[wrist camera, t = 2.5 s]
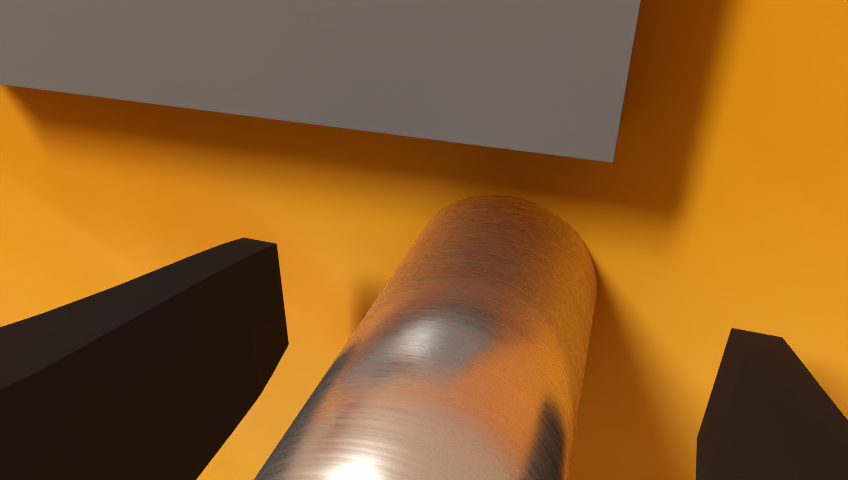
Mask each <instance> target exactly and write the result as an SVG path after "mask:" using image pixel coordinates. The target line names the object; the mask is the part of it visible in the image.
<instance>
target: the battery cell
mask: <svg viewBox="0 0 848 480" xmlns="http://www.w3.org/2000/svg"><path fill="white" fill-rule="evenodd" d="M596 296H597V275H596V271H595V266H594V263H593V261H592V258H591V255H590V253H589V251H588V250H587V248H586V246H585V244H584V243H583V241H582V240H581V239H580V237H579V236H578V235H577V233H576V232H575V231H574V230H573V229H572V228H571V227H570V226H569V225H568V224H567V223H565V222H564V221H563V220H562V219H560V218H559V217H558V216H557V215H555V214H553V213H552V212H550V211H548V210H547V209H545V208H543V207H541V206H539V205H536V204H534V203H532V202H529V201H526V200H523V199H518V198H514V197H509V196H498V195H490V196H478V197H472V198H468V199H465V200H461V201H459V202H456V203H454V204H452V205H450V206H448V207H447V208H445V209H443V210H442V211H440V212H439V213H438V214H437V215H436V216H434V217H433V218H432V219H431V220H430V222H429V223H428V224H427V225H426V226H425V228H424V229H423V231H422V232H421V234H420V235H419V237H418V238H417V240H416V241H415V243H414V244H413V246H412V247H411V248H410V250H409V251H408V253H407V254H406V256H405V257H404V259H403V260H402V262H401V263H400V265H399V266H398V268H397V269H396V271H395V272H394V274H393V275H392V277H391V278H390V280H389V281H388V282H387V284H386V285H385V287H384V288H383V290H382V291H381V293H380V294H379V296H378V297H377V299H376V300H375V302H374V303H373V305H372V306H371V308H370V309H369V311H368V312H367V313H366V315H365V316H364V318H363V319H362V321H361V322H360V324H359V325H358V327H357V328H356V330H355V331H354V333H353V334H352V336H351V337H350V339H349V340H348V342H347V343H346V344H345V346H344V347H343V349H342V350H341V352H340V353H339V355H338V356H337V358H336V359H335V361H334V362H333V364H332V365H331V367H330V368H329V370H328V371H327V373H326V374H325V375H324V377H323V378H322V380H321V381H320V383H319V384H318V386H317V387H316V389H315V390H314V392H313V393H312V395H311V396H310V398H309V399H308V401H307V402H306V404H305V405H304V406H303V408H302V409H301V411H300V412H299V414H298V415H297V417H296V418H295V420H294V421H293V423H292V424H291V426H290V427H289V429H288V430H287V432H286V433H285V435H284V436H283V438H282V439H281V440H280V442H279V443H278V445H277V446H276V448H275V449H274V451H273V452H272V454H271V455H270V457H269V458H268V460H267V461H266V463H265V464H264V466H263V467H262V469H261V470H260V471H259V473H258V474H257V476H256V477H255V479H254V480H567V478H568V472H569V466H570V459H571V453H572V447H573V441H574V434H575V428H576V422H577V416H578V409H579V403H580V397H581V391H582V384H583V378H584V372H585V366H586V359H587V353H588V347H589V340H590V334H591V328H592V322H593V315H594V309H595V303H596Z"/></svg>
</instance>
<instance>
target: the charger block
mask: <svg viewBox="0 0 848 480" xmlns="http://www.w3.org/2000/svg"><path fill="white" fill-rule="evenodd" d="M640 2H641V0H0V84H1V85H9V86H17V87H25V88H33V89H41V90H48V91H56V92H64V93H72V94H80V95H88V96H95V97H103V98H111V99H119V100H127V101H134V102H142V103H150V104H158V105H166V106H174V107H181V108H189V109H197V110H205V111H213V112H221V113H228V114H236V115H244V116H252V117H260V118H267V119H275V120H283V121H291V122H299V123H307V124H314V125H322V126H330V127H338V128H346V129H354V130H361V131H369V132H377V133H385V134H393V135H400V136H408V137H416V138H424V139H432V140H440V141H447V142H455V143H463V144H471V145H479V146H487V147H494V148H502V149H510V150H518V151H526V152H533V153H541V154H549V155H557V156H565V157H573V158H580V159H588V160H596V161H604V162H612V163H613V159H614V154H615V148H616V142H617V136H618V131H619V125H620V119H621V113H622V107H623V102H624V96H625V90H626V84H627V78H628V72H629V67H630V61H631V55H632V49H633V43H634V37H635V31H636V26H637V20H638V14H639V8H640Z"/></svg>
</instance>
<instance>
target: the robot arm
mask: <svg viewBox="0 0 848 480" xmlns="http://www.w3.org/2000/svg"><path fill="white" fill-rule="evenodd" d="M288 345H289V343H288V335H287V326H286V318H285V309H284V301H283V293H282V284H281V276H280V268H279V259H278V251H277V244H275V243H270V242H264V241H259V240H253V239H248V238H241V239H237V240H234V241H231V242H228V243H225V244H222V245H219V246H216V247H213V248H211V249H208V250H205V251H203V252H200V253H198V254H195V255H193V256H190V257H187V258H185V259H182V260H180V261H178V262H175V263H173V264H170V265H168V266H165V267H163V268H160V269H158V270H155V271H153V272H150V273H148V274H145V275H143V276H140V277H138V278H135V279H133V280H130V281H128V282H125V283H123V284H120V285H118V286H115V287H113V288H110V289H107V290H105V291H102V292H99V293H97V294H94V295H91V296H88V297H86V298H83V299H80V300H78V301H75V302H72V303H69V304H67V305H64V306H61V307H59V308H56V309H53V310H50V311H48V312H45V313H42V314H39V315H36V316H33V317H30V318H27V319H25V320H21V321H18V322H15V323H12V324H9V325H6V326H3V327H0V480H196V479H197V478H198V476H199V475H200V474H201V473H202V471H203V470H204V469H205V467H206V466H207V465H208V463H209V462H210V461H211V460H212V458H213V457H214V456H215V454H216V453H217V452H218V450H219V449H220V448H221V447H222V445H223V444H224V443H225V441H226V440H227V439H228V437H229V436H230V435H231V434H232V432H233V431H234V430H235V428H236V427H237V426H238V424H239V423H240V422H241V420H242V419H243V418H244V416H245V415H246V414H247V412H248V411H249V410H250V408H251V407H252V406H253V404H254V403H255V401H256V400H257V399H258V397H259V396H260V394H261V393H262V391H263V389H264V388H265V386H266V384H267V383H268V381H269V379H270V378H271V376H272V374H273V372H274V371H275V369H276V367H277V365H278V363H279V361H280V359H281V358H282V356H283V354H284V352H285V350H286V348H287V346H288ZM696 480H848V420H847V419H846V417H845V416H844V415H843V414H842V413H841V411H840V410H839V409H838V408H837V406H836V405H835V404H834V402H833V401H832V400H831V399H830V397H829V396H828V395H827V394H826V392H825V391H824V390H823V389H822V387H821V386H820V385H819V384H818V382H817V381H816V380H815V378H814V377H813V376H812V375H811V373H810V372H809V371H808V369H807V368H806V367H805V366H804V364H803V363H802V362H801V360H800V359H799V358H798V357H797V355H796V354H795V353H794V351H793V350H792V349H791V348H790V346H789V345H788V344H787V343H786V342H785V340H784V339H783V338H782V337H777V336H772V335H766V334H761V333H756V332H750V331H745V330H739V329H734V328H732V329H731V332H730V335H729V338H728V341H727V344H726V348H725V351H724V354H723V357H722V360H721V364H720V367H719V370H718V373H717V376H716V379H715V383H714V386H713V389H712V392H711V395H710V399H709V402H708V405H707V408H706V411H705V414H704V418H703V421H702V424H701V427H700V430H699V434H698V437H697V458H696Z"/></svg>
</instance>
